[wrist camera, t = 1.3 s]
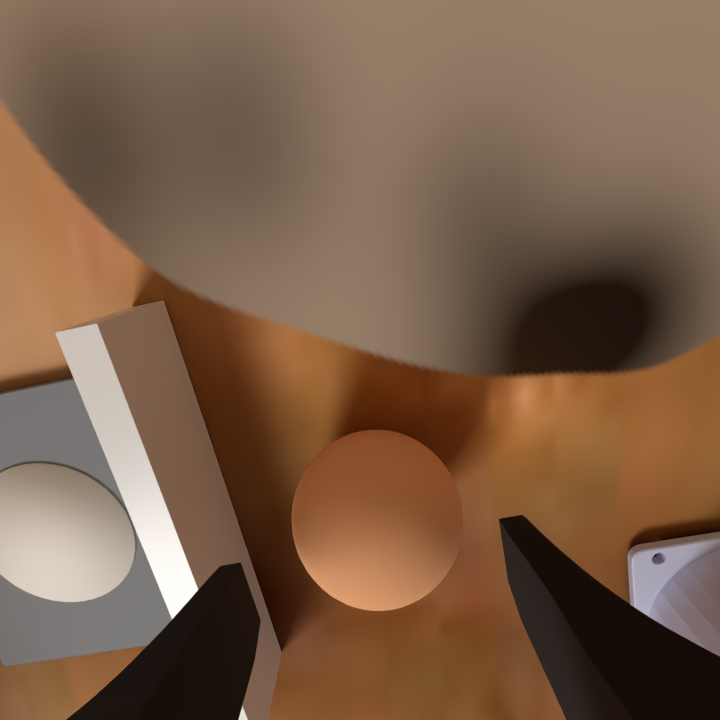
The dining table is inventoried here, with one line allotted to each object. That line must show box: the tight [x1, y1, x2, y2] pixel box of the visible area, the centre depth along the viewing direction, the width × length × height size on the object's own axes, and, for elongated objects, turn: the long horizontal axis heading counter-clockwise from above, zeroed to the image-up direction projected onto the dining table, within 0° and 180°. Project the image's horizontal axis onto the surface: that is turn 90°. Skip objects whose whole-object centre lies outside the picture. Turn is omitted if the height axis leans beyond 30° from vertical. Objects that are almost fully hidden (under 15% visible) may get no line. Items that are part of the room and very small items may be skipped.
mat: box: [0, 377, 172, 667], centre depth 18 cm, size 10×12×1 cm
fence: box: [55, 300, 282, 720], centre depth 16 cm, size 1×16×4 cm, turn 12°
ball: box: [292, 430, 463, 611], centre depth 15 cm, size 6×6×6 cm
